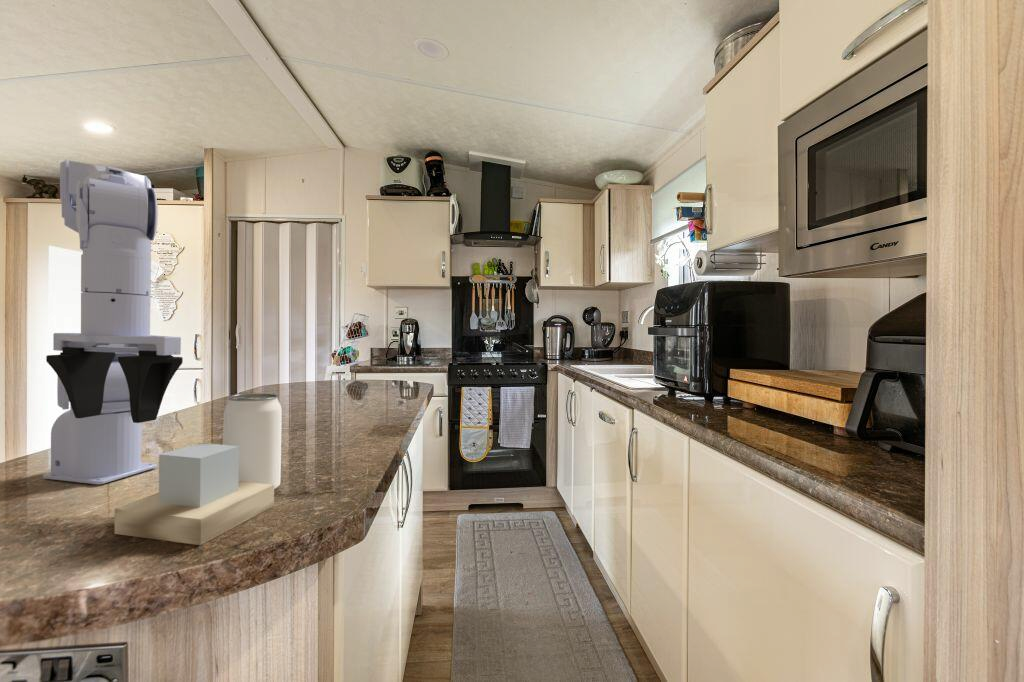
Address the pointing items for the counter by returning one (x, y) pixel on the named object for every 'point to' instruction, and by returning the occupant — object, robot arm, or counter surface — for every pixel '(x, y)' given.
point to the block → (198, 474)
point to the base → (193, 515)
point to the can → (255, 436)
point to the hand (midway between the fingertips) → (115, 418)
